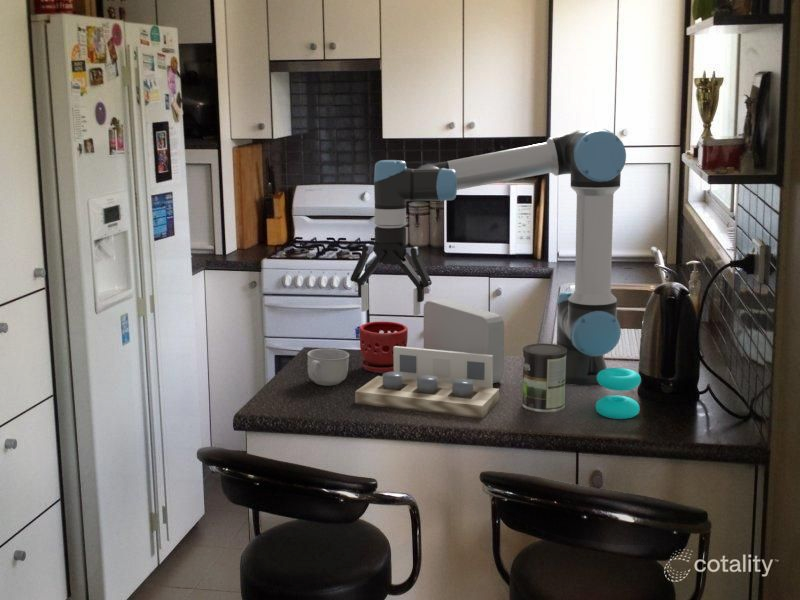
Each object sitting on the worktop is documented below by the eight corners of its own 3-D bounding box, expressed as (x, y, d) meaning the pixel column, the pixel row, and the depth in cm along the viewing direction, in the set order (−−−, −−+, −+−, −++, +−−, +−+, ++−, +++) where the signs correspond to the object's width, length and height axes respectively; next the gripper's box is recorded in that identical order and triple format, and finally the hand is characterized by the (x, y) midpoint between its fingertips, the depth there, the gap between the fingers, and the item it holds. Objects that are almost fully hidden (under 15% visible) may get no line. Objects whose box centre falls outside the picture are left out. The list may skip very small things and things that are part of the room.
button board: (499, 400, 235) (499, 388, 234) (482, 418, 222) (482, 405, 221) (377, 387, 246) (377, 375, 246) (355, 403, 234) (355, 391, 233)
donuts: (598, 365, 229) (642, 367, 226) (597, 405, 231) (640, 408, 228) (595, 376, 219) (640, 379, 217) (593, 418, 221) (638, 422, 219)
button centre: (440, 388, 235) (440, 376, 234) (433, 394, 230) (433, 382, 230) (421, 386, 237) (421, 374, 236) (414, 391, 232) (414, 379, 232)
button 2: (476, 392, 232) (476, 380, 231) (469, 398, 227) (469, 385, 226) (456, 390, 233) (456, 378, 233) (449, 395, 229) (449, 383, 228)
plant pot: (354, 374, 258) (353, 330, 255) (367, 361, 270) (366, 319, 268) (401, 377, 255) (401, 333, 252) (412, 364, 267) (412, 321, 265)
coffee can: (524, 412, 226) (525, 354, 223) (520, 399, 236) (521, 343, 233) (568, 412, 226) (569, 354, 223) (562, 399, 236) (563, 343, 233)
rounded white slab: (510, 382, 250) (511, 314, 246) (487, 387, 246) (488, 318, 242) (445, 358, 273) (445, 296, 269) (423, 362, 269) (423, 299, 265)
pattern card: (494, 391, 242) (495, 353, 240) (489, 397, 237) (489, 358, 235) (398, 381, 251) (397, 344, 249) (391, 386, 247) (390, 348, 245)
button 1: (406, 384, 238) (406, 372, 238) (398, 390, 234) (398, 378, 233) (387, 382, 240) (387, 370, 239) (379, 388, 235) (379, 376, 235)
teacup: (326, 374, 258) (325, 345, 257) (358, 380, 252) (357, 351, 250) (291, 387, 247) (290, 357, 245) (323, 394, 241) (323, 363, 239)
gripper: (445, 226, 229) (444, 313, 233) (349, 221, 238) (350, 305, 242) (434, 230, 222) (433, 320, 227) (336, 225, 231) (337, 311, 236)
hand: (390, 312), depth 235 cm, fingers open, 13 cm apart
